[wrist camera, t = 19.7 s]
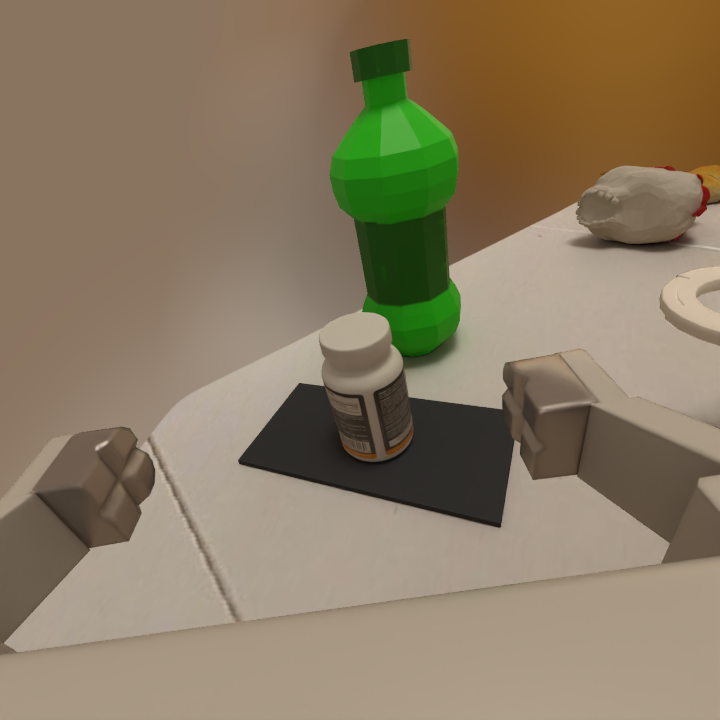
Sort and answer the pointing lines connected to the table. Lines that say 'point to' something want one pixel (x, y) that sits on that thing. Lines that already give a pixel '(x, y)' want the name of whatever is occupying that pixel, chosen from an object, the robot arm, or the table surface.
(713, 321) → the pot
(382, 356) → the pill bottle
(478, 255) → the table surface
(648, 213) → the white lumpy rounded piece
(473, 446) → the slate mat
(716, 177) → the bread roll
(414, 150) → the plastic bottle
